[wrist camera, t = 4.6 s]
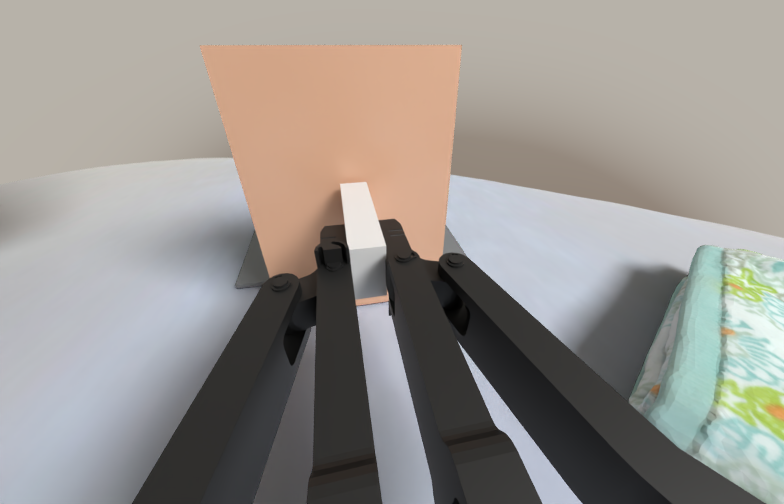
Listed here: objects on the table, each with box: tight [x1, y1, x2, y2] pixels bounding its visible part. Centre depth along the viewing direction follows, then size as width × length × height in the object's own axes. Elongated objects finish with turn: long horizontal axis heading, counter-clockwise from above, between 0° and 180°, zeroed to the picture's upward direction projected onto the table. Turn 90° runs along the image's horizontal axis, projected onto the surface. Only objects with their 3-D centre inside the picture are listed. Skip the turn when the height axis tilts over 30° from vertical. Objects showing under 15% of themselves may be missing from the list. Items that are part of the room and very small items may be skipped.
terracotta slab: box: [200, 45, 462, 306], centre depth 19 cm, size 12×3×16 cm, turn 101°
